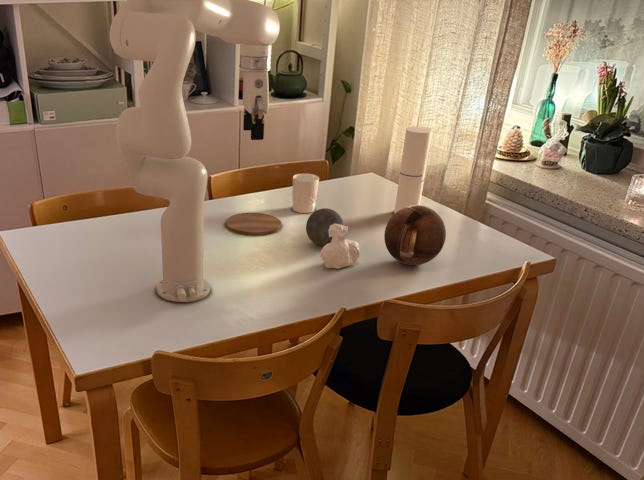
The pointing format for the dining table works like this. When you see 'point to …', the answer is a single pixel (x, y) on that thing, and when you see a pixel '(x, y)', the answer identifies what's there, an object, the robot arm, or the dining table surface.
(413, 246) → the wooden sphere
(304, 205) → the white cup
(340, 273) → the dining table surface
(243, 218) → the round wooden disc
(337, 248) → the bust
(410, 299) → the dining table surface
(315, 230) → the decorative ball
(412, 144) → the cylindrical container
